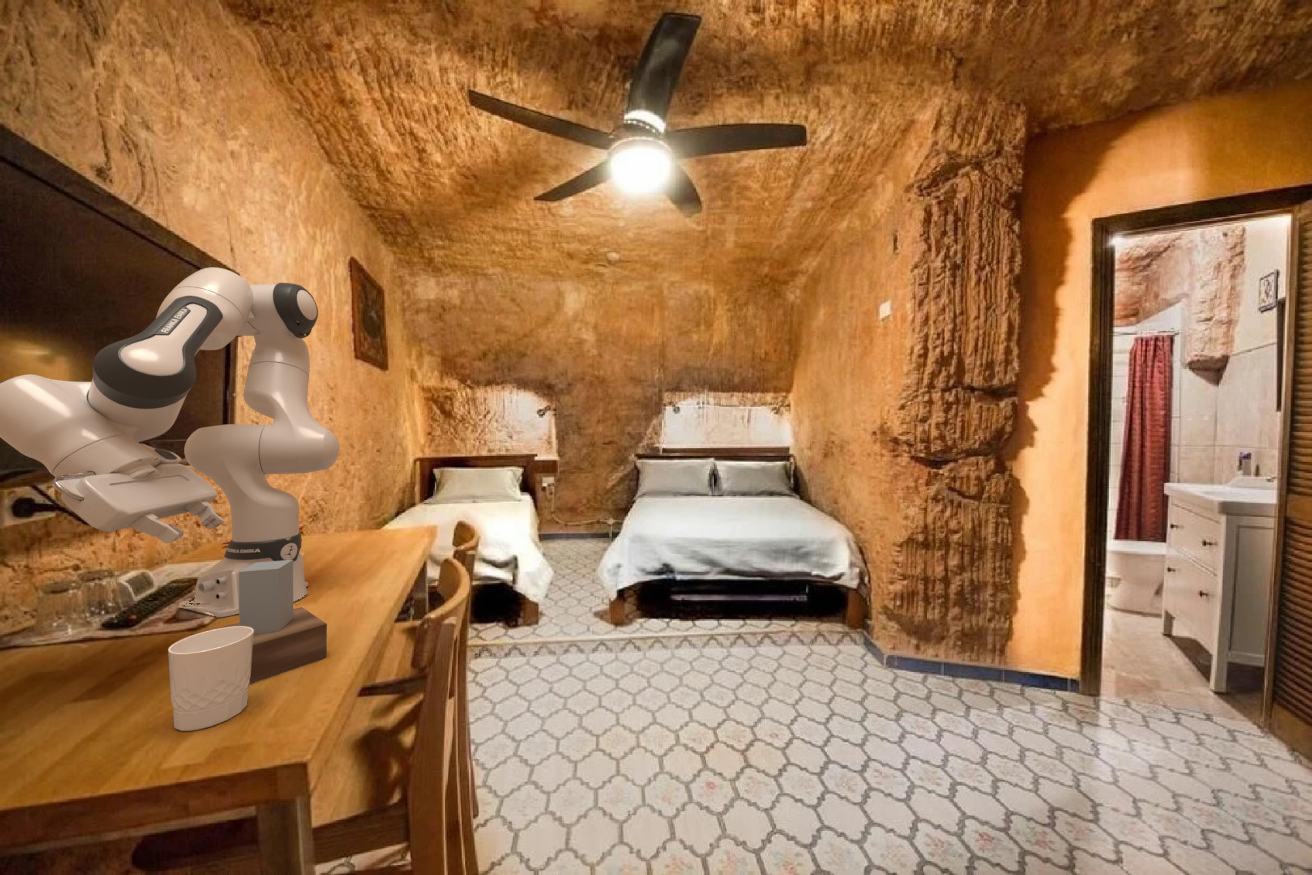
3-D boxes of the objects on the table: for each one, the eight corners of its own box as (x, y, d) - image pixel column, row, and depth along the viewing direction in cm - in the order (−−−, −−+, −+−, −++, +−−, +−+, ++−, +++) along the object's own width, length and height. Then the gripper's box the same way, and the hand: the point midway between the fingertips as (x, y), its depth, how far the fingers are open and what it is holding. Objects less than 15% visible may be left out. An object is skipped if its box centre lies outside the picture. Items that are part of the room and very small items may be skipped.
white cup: (219, 694, 62) (220, 624, 62) (268, 699, 61) (269, 627, 61) (148, 732, 54) (149, 651, 54) (204, 737, 53) (204, 655, 53)
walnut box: (207, 668, 69) (207, 630, 69) (301, 639, 79) (301, 606, 79) (226, 694, 62) (226, 652, 62) (326, 659, 72) (326, 623, 72)
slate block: (239, 635, 67) (238, 571, 67) (256, 622, 72) (256, 562, 72) (279, 631, 69) (278, 568, 69) (293, 618, 74) (293, 559, 74)
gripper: (67, 458, 55) (167, 530, 58) (181, 451, 75) (252, 506, 78) (17, 495, 54) (123, 566, 57) (147, 478, 73) (220, 532, 76)
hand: (198, 531), depth 68 cm, fingers open, 8 cm apart
